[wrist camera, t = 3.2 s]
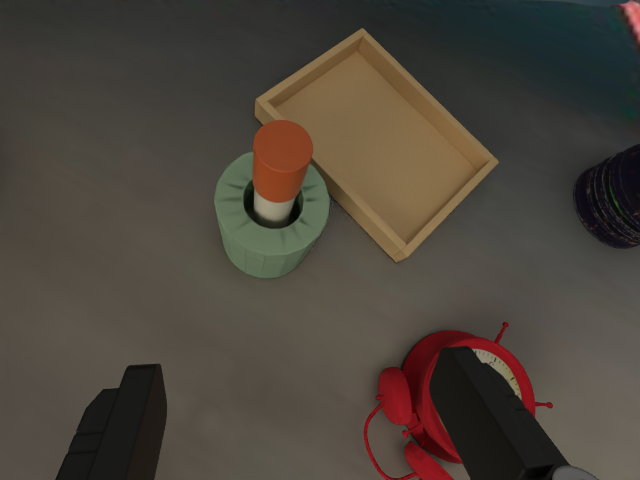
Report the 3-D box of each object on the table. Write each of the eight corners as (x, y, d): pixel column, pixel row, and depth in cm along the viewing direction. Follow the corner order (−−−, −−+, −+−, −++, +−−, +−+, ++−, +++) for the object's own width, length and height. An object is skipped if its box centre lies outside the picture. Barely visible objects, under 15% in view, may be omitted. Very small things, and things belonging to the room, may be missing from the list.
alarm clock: (572, 422, 29) (451, 558, 22) (508, 417, 34) (393, 525, 27) (505, 302, 31) (373, 390, 23) (454, 315, 36) (332, 390, 29)
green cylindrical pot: (203, 232, 31) (189, 193, 23) (270, 180, 34) (277, 128, 26) (263, 297, 31) (269, 280, 23) (326, 239, 33) (352, 205, 25)
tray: (254, 116, 35) (255, 99, 33) (355, 46, 40) (362, 27, 38) (396, 263, 34) (408, 257, 31) (483, 173, 39) (499, 161, 36)
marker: (243, 232, 31) (241, 140, 17) (268, 212, 32) (285, 108, 18) (266, 257, 31) (282, 183, 17) (290, 236, 32) (325, 149, 18)
